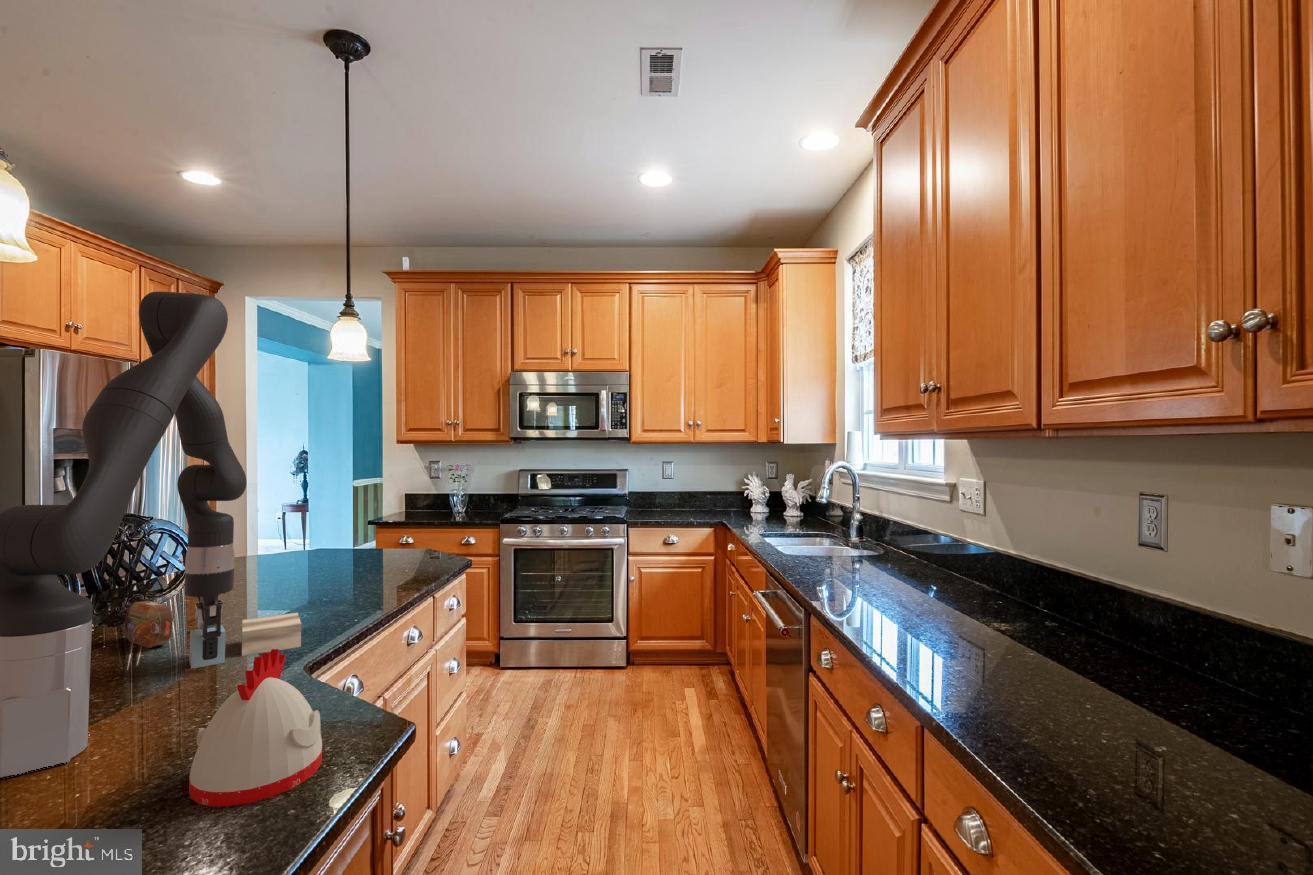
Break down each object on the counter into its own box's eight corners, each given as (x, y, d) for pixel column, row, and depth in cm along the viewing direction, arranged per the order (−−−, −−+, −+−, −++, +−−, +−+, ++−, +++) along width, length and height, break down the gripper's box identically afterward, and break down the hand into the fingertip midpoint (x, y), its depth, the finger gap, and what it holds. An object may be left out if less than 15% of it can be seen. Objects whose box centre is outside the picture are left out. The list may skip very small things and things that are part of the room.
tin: (122, 639, 124) (123, 599, 124) (141, 635, 127) (142, 596, 127) (156, 651, 117) (158, 609, 117) (175, 647, 120) (176, 605, 120)
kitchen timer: (342, 745, 81) (344, 637, 81) (281, 806, 67) (285, 675, 68) (239, 746, 80) (243, 637, 81) (158, 807, 67) (162, 675, 67)
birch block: (300, 647, 121) (301, 623, 121) (241, 657, 115) (242, 631, 115) (297, 635, 129) (297, 612, 129) (241, 643, 123) (242, 619, 123)
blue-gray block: (224, 662, 111) (225, 631, 112) (191, 668, 108) (192, 636, 108) (221, 655, 115) (222, 625, 115) (189, 661, 112) (190, 630, 112)
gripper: (239, 571, 109) (236, 658, 109) (229, 560, 120) (226, 639, 119) (188, 577, 104) (185, 668, 104) (182, 564, 115) (179, 647, 114)
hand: (207, 652), depth 112 cm, fingers open, 8 cm apart
